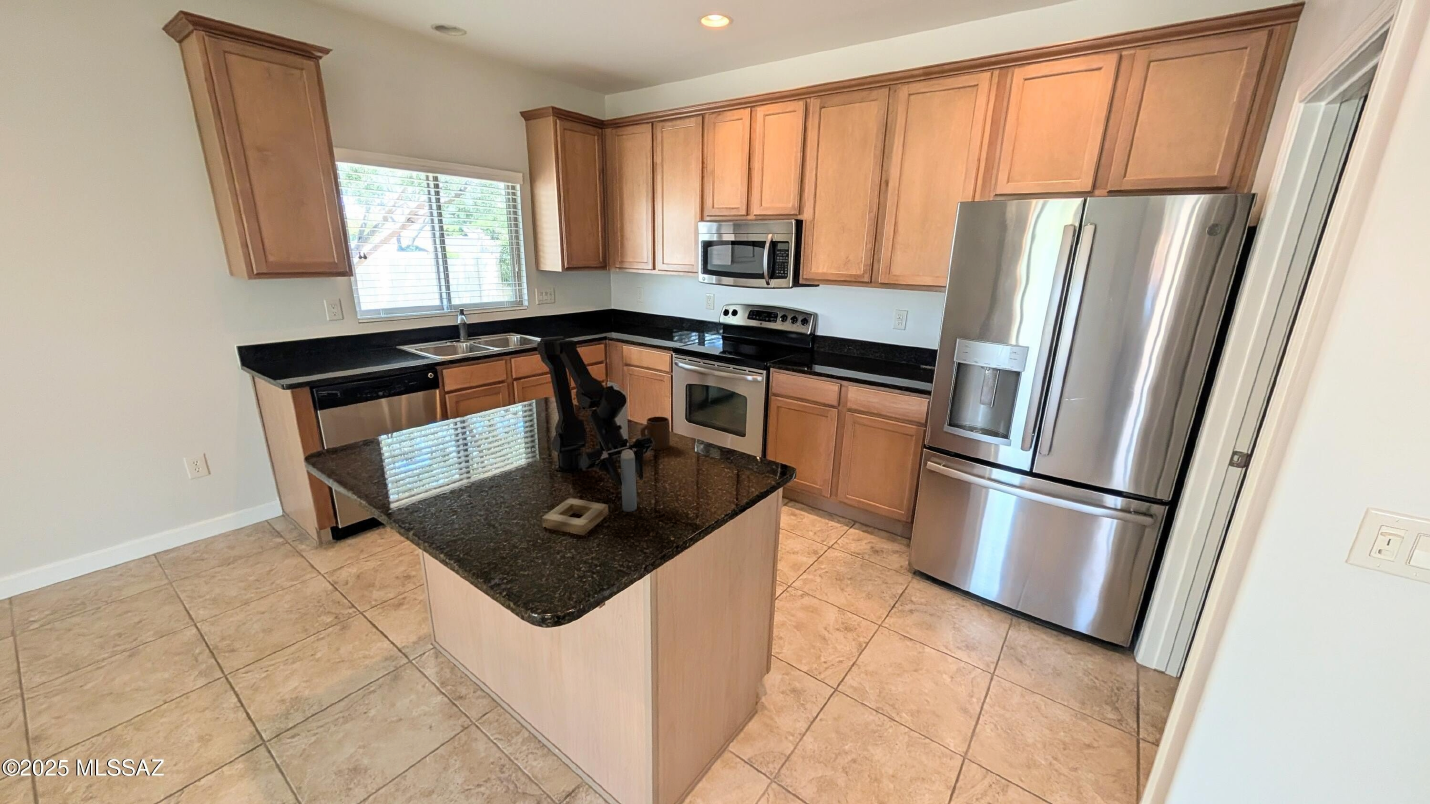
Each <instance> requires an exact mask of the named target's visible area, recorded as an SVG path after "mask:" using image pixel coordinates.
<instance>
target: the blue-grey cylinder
mask: <svg viewBox="0 0 1430 804" xmlns="http://www.w3.org/2000/svg"><path fill="white" fill-rule="evenodd" d="M619 458H620V477H621V481H622V486H621V500H622V501H621V503H622V511H623V512H628V513H630V512H631V513H632V512H634V511H636V510H637V509H638V508H637V506H638V505H637V503H638V502H637V484H636V483H637V482H636V481H637V479H636V478H637V477H636V475H637V474H636V471H635V455H634V453H633V451H632V450H630V449H626V450H624V451H623V452H622V453H621V455H620V456H619Z"/></svg>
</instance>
